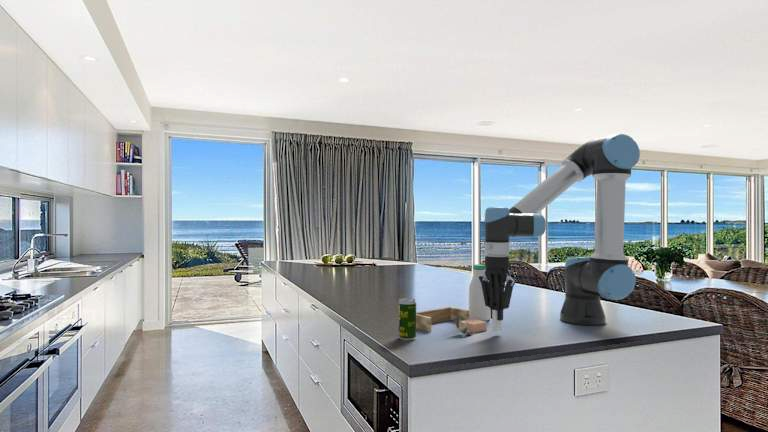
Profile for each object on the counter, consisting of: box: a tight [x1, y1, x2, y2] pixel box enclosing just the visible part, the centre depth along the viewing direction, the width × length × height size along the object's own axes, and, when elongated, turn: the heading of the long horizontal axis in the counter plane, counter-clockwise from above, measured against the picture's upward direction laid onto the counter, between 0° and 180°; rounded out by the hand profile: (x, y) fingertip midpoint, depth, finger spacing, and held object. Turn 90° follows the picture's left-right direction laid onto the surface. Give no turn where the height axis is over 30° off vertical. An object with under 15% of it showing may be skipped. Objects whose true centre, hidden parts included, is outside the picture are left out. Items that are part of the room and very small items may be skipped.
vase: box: [452, 316, 473, 338], centre depth 147 cm, size 5×5×6 cm
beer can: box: [398, 297, 417, 342], centre depth 142 cm, size 5×5×12 cm
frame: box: [416, 306, 470, 333], centre depth 161 cm, size 9×20×4 cm, turn 129°
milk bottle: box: [468, 263, 491, 322], centre depth 170 cm, size 8×8×20 cm
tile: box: [464, 319, 488, 334], centre depth 154 cm, size 6×6×3 cm
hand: (496, 330), depth 147 cm, fingers closed
